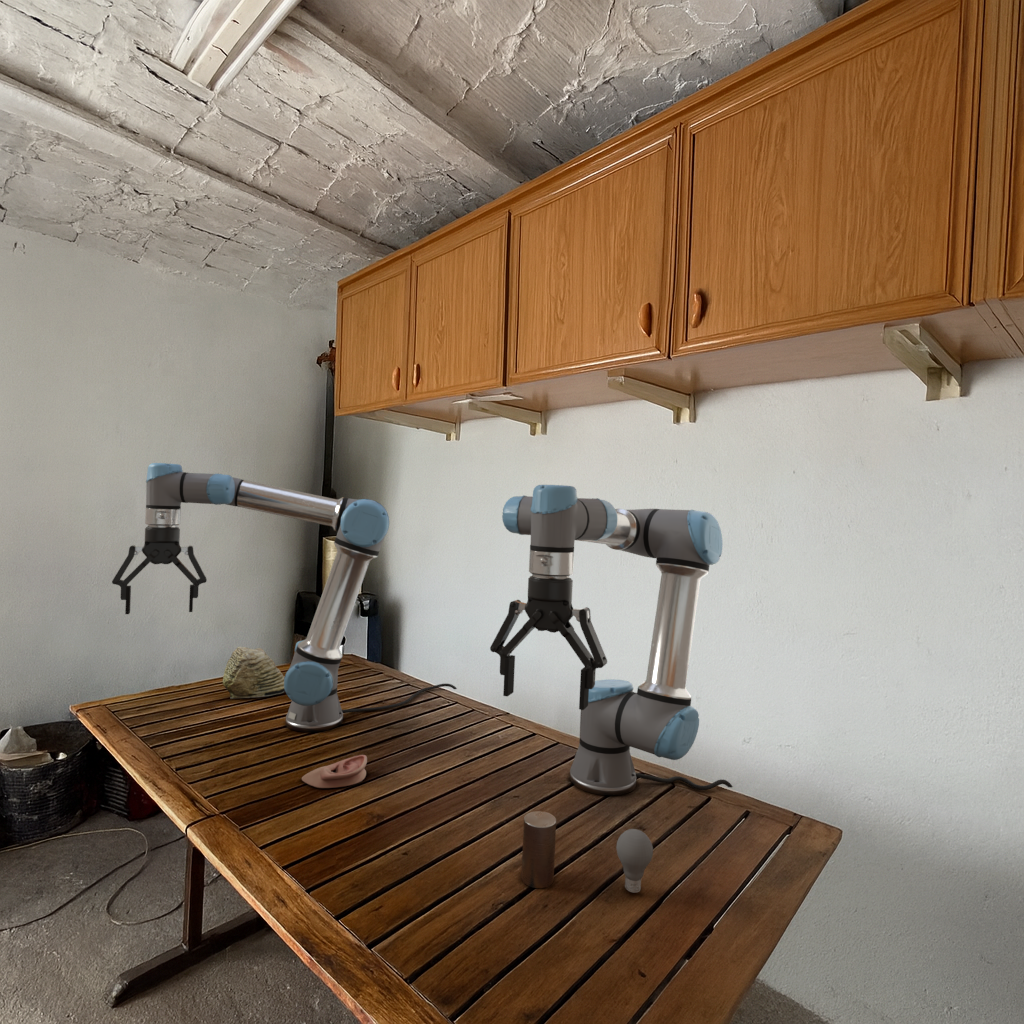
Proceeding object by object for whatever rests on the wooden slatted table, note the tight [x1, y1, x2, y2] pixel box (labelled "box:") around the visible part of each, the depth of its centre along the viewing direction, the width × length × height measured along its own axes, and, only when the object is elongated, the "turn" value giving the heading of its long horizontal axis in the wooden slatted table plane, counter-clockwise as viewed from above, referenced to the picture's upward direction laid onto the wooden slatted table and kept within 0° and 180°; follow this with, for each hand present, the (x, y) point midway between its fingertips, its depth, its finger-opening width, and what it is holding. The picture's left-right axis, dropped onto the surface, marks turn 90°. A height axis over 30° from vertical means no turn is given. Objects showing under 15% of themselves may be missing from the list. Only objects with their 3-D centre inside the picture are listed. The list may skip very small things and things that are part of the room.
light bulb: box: [615, 828, 654, 894], centre depth 106 cm, size 6×6×10 cm
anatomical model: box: [301, 754, 368, 789], centre depth 143 cm, size 13×4×12 cm
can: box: [520, 810, 557, 889], centre depth 108 cm, size 6×6×10 cm
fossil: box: [222, 646, 285, 699], centre depth 198 cm, size 9×18×15 cm, turn 132°
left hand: (159, 612), depth 156 cm, fingers open, 13 cm apart
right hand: (545, 700), depth 108 cm, fingers open, 13 cm apart
